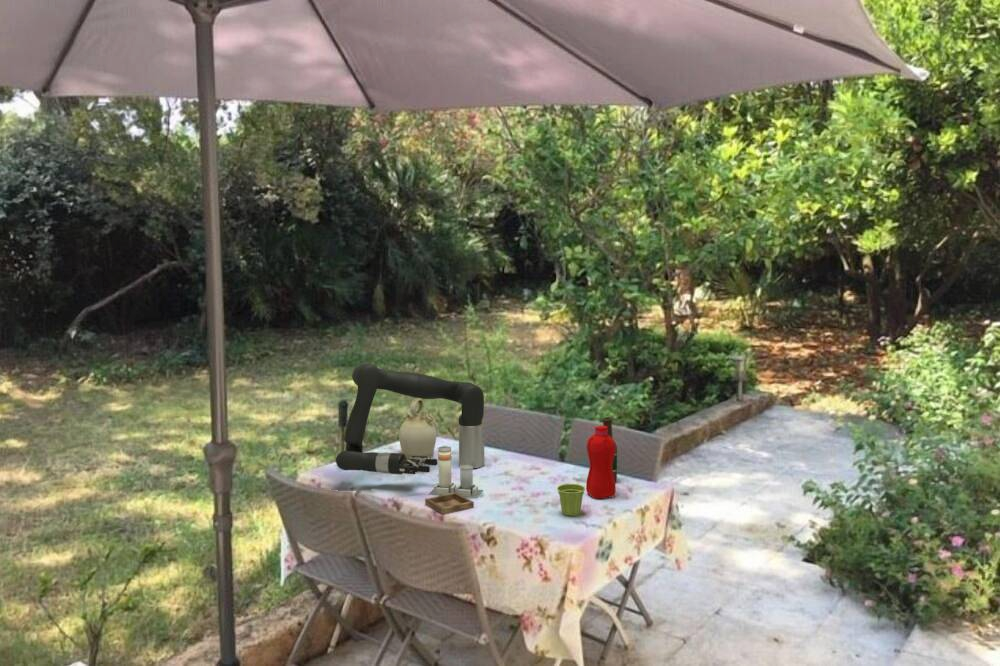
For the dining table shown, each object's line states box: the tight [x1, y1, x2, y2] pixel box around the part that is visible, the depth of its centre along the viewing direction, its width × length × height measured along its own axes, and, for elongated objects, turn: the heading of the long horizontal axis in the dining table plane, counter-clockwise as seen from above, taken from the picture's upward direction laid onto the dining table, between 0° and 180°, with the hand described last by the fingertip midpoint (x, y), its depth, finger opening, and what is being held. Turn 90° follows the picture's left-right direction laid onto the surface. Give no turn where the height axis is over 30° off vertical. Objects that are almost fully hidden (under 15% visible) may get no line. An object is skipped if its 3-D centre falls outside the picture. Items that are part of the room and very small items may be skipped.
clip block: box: [427, 482, 484, 499], centre depth 290 cm, size 18×9×3 cm, turn 76°
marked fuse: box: [437, 445, 452, 493], centre depth 290 cm, size 5×5×16 cm
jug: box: [398, 397, 437, 459], centre depth 336 cm, size 15×16×25 cm
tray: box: [424, 492, 475, 516], centre depth 276 cm, size 12×12×3 cm
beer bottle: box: [602, 416, 618, 483], centre depth 302 cm, size 8×8×24 cm
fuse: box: [459, 464, 474, 494], centre depth 289 cm, size 4×4×10 cm
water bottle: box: [585, 425, 617, 500], centre depth 287 cm, size 9×11×25 cm
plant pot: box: [556, 483, 586, 517], centre depth 270 cm, size 9×9×9 cm
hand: (433, 465), depth 291 cm, fingers open, 8 cm apart
